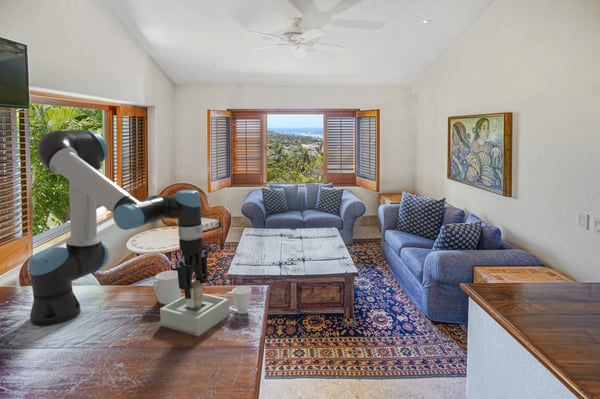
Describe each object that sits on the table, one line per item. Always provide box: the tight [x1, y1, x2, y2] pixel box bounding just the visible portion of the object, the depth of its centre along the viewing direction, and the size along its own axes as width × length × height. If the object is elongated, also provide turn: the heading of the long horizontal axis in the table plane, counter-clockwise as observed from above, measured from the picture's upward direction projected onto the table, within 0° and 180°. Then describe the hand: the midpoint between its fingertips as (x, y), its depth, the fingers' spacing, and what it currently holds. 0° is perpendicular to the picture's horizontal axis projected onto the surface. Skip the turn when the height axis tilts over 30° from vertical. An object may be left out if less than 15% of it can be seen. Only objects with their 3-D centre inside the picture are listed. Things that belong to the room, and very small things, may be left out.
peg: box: [190, 279, 202, 311], centre depth 134 cm, size 4×4×12 cm
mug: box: [152, 270, 182, 306], centre depth 149 cm, size 11×9×10 cm
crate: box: [159, 292, 230, 337], centre depth 135 cm, size 16×16×6 cm
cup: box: [223, 285, 252, 315], centre depth 141 cm, size 7×10×8 cm
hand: (195, 303), depth 134 cm, fingers closed on peg, 4 cm apart
